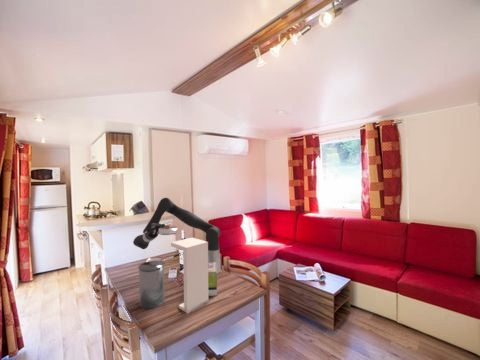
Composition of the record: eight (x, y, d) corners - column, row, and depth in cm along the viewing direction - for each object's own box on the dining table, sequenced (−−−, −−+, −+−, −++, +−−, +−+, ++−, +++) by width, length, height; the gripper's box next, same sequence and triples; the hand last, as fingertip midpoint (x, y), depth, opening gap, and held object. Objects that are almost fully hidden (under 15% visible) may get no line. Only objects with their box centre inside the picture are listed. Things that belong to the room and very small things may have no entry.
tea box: (201, 284, 148) (201, 262, 148) (217, 284, 149) (217, 261, 148) (199, 296, 133) (199, 271, 133) (217, 296, 134) (216, 271, 133)
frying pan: (180, 256, 203) (180, 249, 203) (186, 260, 193) (186, 252, 193) (143, 264, 184) (143, 257, 184) (147, 269, 173) (147, 261, 173)
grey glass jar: (162, 293, 136) (162, 259, 136) (166, 305, 124) (166, 267, 124) (138, 299, 130) (137, 263, 130) (139, 312, 118) (139, 272, 118)
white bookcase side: (171, 302, 126) (171, 242, 126) (192, 293, 137) (191, 237, 136) (187, 313, 116) (186, 247, 116) (208, 302, 127) (207, 241, 126)
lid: (145, 229, 144) (145, 222, 144) (162, 226, 152) (161, 219, 152) (164, 236, 128) (164, 228, 127) (181, 232, 136) (181, 225, 135)
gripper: (161, 237, 155) (173, 229, 145) (141, 242, 145) (151, 233, 135) (158, 227, 158) (169, 218, 147) (138, 231, 147) (148, 221, 137)
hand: (161, 225), depth 141 cm, fingers closed on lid, 3 cm apart
